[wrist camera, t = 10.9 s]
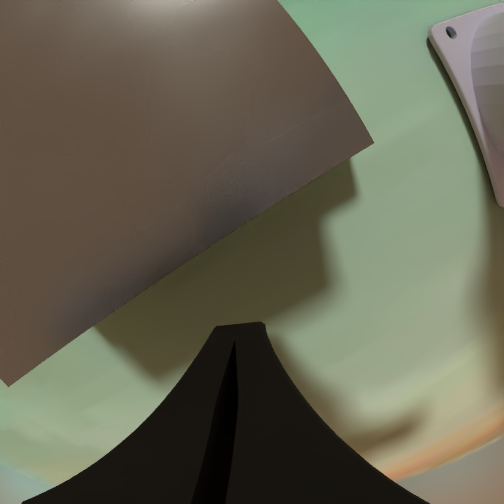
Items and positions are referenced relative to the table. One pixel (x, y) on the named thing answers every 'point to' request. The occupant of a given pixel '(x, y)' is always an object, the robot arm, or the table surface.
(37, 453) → the table surface
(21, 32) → the cover
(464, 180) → the table surface
